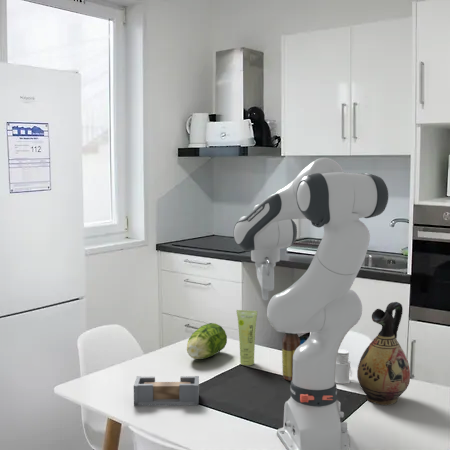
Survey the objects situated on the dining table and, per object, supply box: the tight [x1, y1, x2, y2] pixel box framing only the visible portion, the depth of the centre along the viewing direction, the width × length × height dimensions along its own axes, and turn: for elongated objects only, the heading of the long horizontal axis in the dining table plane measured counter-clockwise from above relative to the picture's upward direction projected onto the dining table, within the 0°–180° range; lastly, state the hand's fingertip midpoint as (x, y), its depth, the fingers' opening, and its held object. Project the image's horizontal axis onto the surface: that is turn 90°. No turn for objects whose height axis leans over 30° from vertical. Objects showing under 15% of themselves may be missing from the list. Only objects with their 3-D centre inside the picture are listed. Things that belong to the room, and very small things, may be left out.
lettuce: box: [186, 322, 228, 360], centre depth 224 cm, size 12×21×11 cm, turn 157°
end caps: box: [133, 375, 200, 406], centre depth 184 cm, size 19×8×6 cm, turn 91°
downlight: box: [335, 348, 353, 385], centre depth 202 cm, size 8×7×10 cm
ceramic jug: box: [356, 301, 411, 406], centre depth 185 cm, size 17×15×30 cm
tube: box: [236, 309, 258, 366], centre depth 217 cm, size 6×5×20 cm
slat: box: [144, 381, 191, 399], centre depth 184 cm, size 14×4×4 cm, turn 92°
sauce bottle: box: [281, 333, 301, 382], centre depth 203 cm, size 6×6×20 cm
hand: (264, 299), depth 190 cm, fingers closed
